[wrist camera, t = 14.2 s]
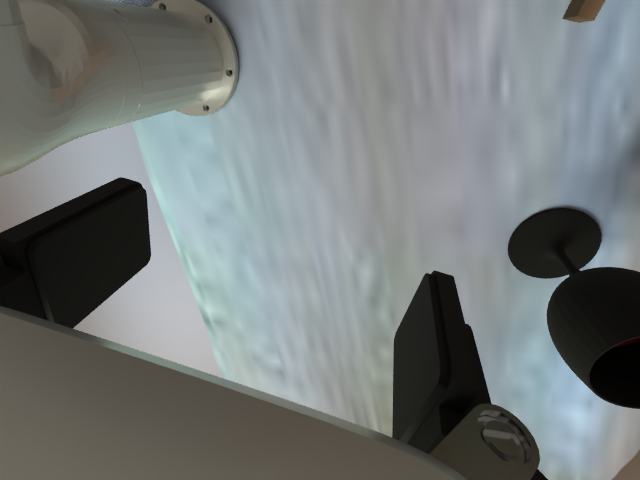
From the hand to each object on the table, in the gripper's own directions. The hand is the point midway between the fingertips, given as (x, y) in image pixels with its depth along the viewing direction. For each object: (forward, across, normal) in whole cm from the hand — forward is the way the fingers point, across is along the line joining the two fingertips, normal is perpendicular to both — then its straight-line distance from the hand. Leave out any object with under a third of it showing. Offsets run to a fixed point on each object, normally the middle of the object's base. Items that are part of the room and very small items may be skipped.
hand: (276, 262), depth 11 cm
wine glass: (+34, -28, +10) cm, 45 cm away
